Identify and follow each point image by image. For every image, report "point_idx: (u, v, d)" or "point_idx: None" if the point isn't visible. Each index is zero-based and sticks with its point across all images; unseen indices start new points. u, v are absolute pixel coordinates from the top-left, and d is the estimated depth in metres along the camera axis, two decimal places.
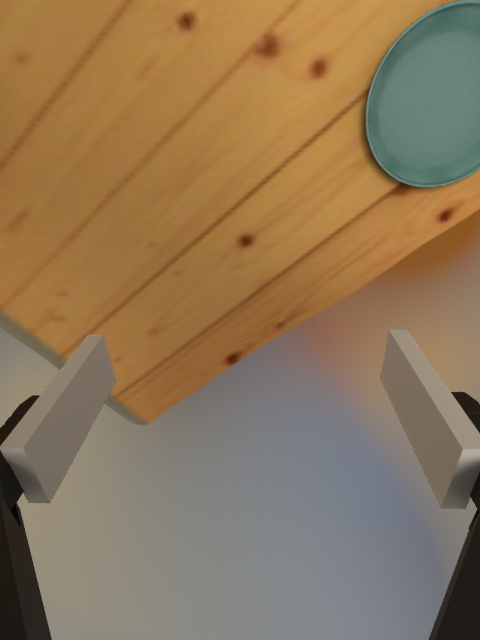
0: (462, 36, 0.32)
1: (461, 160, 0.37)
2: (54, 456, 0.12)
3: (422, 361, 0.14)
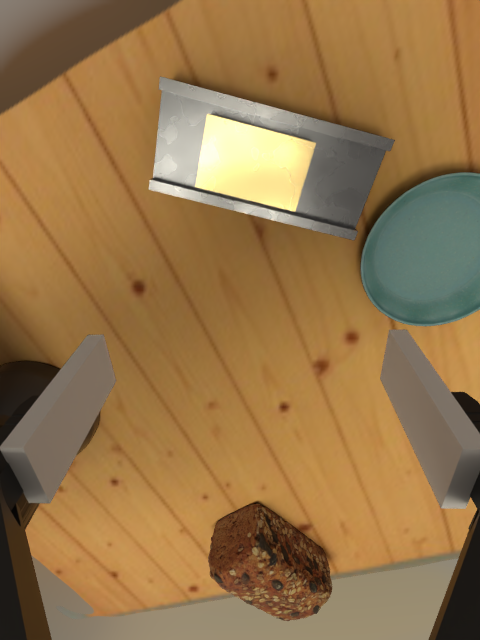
0: (387, 226, 0.34)
1: None
2: (54, 456, 0.12)
3: (422, 361, 0.14)
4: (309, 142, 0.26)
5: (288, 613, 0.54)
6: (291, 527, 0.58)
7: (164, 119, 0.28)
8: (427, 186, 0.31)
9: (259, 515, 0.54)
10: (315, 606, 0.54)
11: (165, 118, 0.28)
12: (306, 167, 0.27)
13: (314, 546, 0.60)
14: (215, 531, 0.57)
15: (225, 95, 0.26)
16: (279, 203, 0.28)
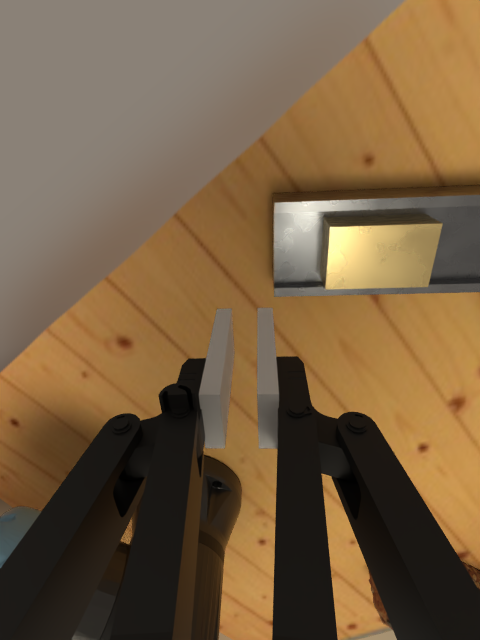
0: None
1: None
2: (225, 408, 0.14)
3: (268, 331, 0.16)
4: (435, 224, 0.26)
5: None
6: None
7: (279, 233, 0.30)
8: None
9: None
10: None
11: (279, 232, 0.30)
12: (435, 246, 0.27)
13: (477, 572, 0.57)
14: None
15: (338, 201, 0.27)
16: (410, 283, 0.28)
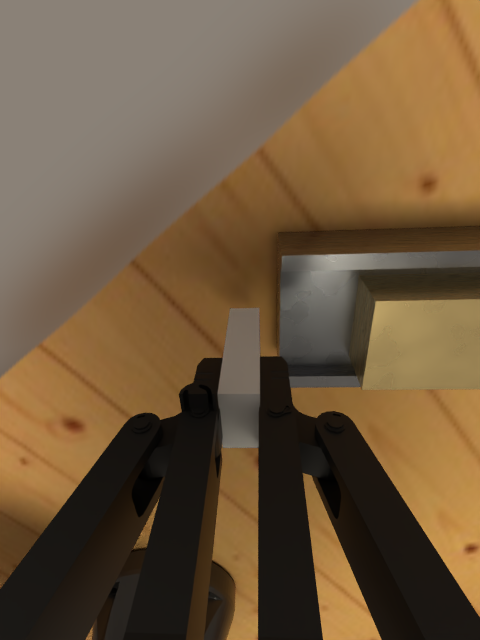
0: None
1: None
2: None
3: (254, 331, 0.16)
4: None
5: None
6: None
7: (288, 297, 0.19)
8: None
9: None
10: None
11: (289, 296, 0.19)
12: None
13: None
14: None
15: (386, 254, 0.17)
16: None
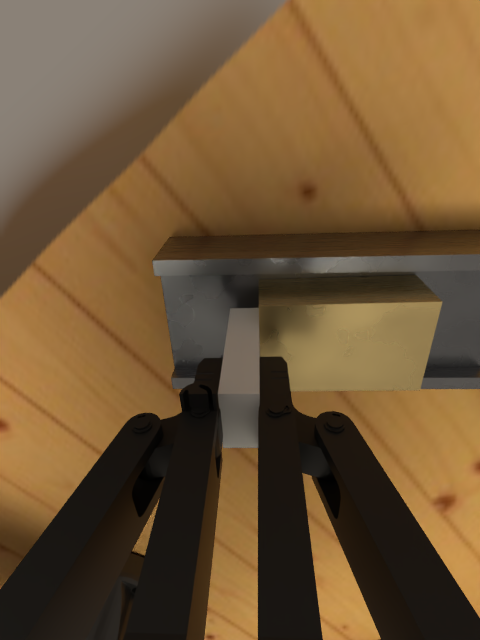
0: None
1: None
2: None
3: (253, 332, 0.16)
4: (431, 303, 0.16)
5: None
6: None
7: (172, 301, 0.20)
8: None
9: None
10: None
11: (173, 299, 0.20)
12: (430, 335, 0.16)
13: None
14: None
15: (251, 260, 0.17)
16: (393, 385, 0.18)
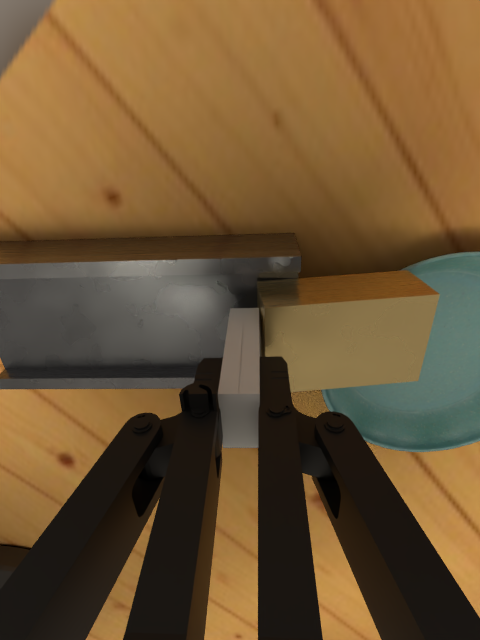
0: None
1: None
2: None
3: (253, 331, 0.16)
4: (429, 296, 0.16)
5: None
6: None
7: None
8: None
9: None
10: None
11: None
12: (428, 327, 0.17)
13: None
14: None
15: (34, 264, 0.18)
16: (393, 378, 0.18)
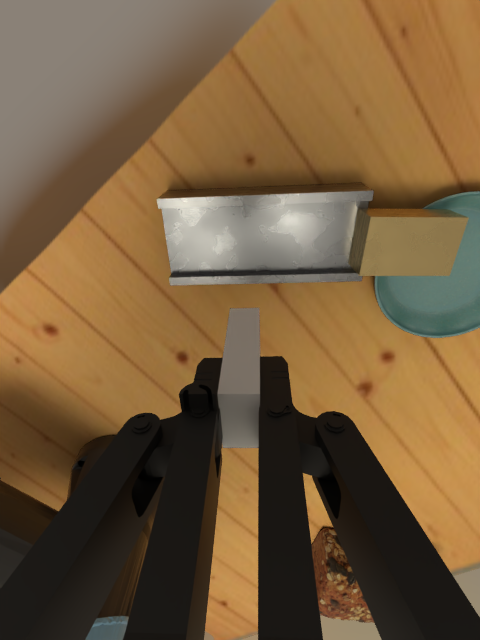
0: None
1: None
2: None
3: (254, 332, 0.16)
4: (462, 218, 0.29)
5: None
6: None
7: (168, 227, 0.33)
8: None
9: (326, 540, 0.57)
10: None
11: (169, 226, 0.32)
12: (460, 238, 0.29)
13: None
14: None
15: (213, 197, 0.30)
16: (435, 272, 0.31)
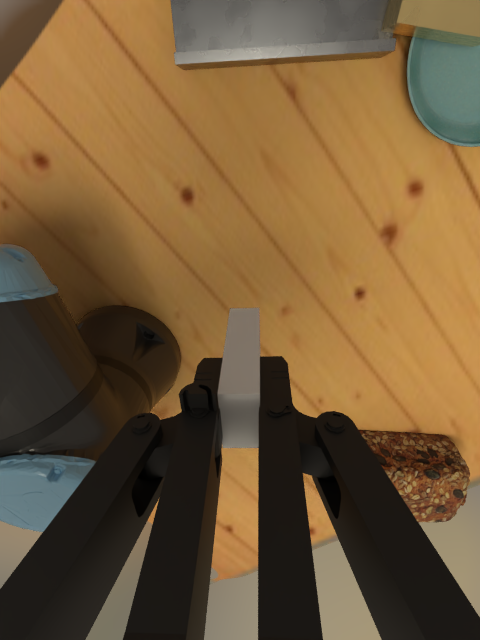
0: (427, 41, 0.32)
1: None
2: None
3: (254, 331, 0.16)
4: None
5: (432, 511, 0.49)
6: (385, 433, 0.55)
7: None
8: None
9: None
10: (453, 491, 0.48)
11: None
12: None
13: (426, 437, 0.54)
14: None
15: None
16: None
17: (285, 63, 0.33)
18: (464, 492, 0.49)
